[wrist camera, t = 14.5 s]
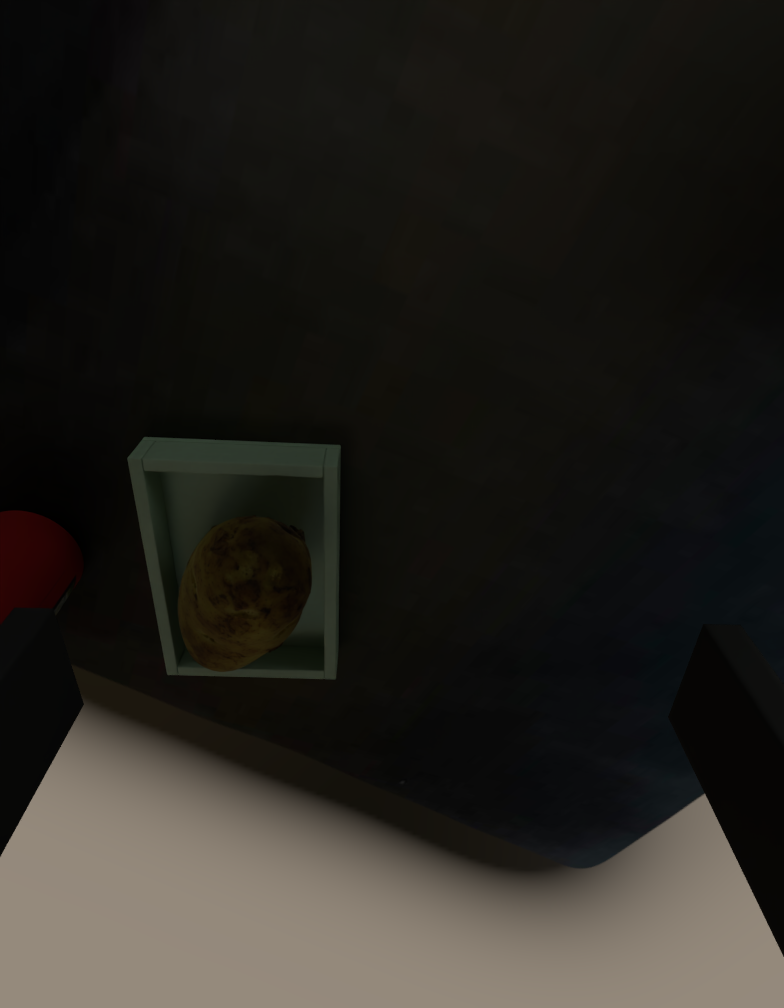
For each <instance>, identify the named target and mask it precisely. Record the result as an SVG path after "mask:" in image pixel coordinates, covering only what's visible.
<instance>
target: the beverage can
mask: <svg viewBox="0 0 784 1008" xmlns="http://www.w3.org/2000/svg"><path fill="white" fill-rule="evenodd" d="M83 568H84V560H83V555H82V552H81V550H80V548H79V546H78V544H77V542H76V541H75V540H74V538H73V537H72V536H71V535H70V534H69V533H68V532H67V531H66V530H65V529H64V528H63V527H61V526H60V525H58V524H57V523H55V522H54V521H52V520H50V519H48V518H46V517H44V516H41V515H38V514H35V513H31V512H26V511H14V510H13V511H4V512H0V625H1V623H2V622H3V621H4V620H5V618H6V617H7V616H8V615H9V614H10V612H11V611H12V610H13V609H14V607H18V608H53V609H54V613H55V616H56V615H57V613H58V612H59V610H60V609H61V607H62V606H63V604H64V603H65V601H66V600H67V598H68V597H69V595H70V594H71V592H72V591H73V589H74V588H75V586H76V585H77V583H78V581H79V580H80V578H81V576H82V573H83Z"/></svg>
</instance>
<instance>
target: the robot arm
mask: <svg viewBox="0 0 784 1008" xmlns="http://www.w3.org/2000/svg"><path fill="white" fill-rule="evenodd" d="M83 705H84V703H83V700H82V698H81V694H80V691H79V688H78V685H77V682H76V679H75V675H74V672H73V669H72V666H71V663H70V660H69V656H68V653H67V650H66V647H65V644H64V641H63V638H62V634H61V631H60V628H59V625H58V622H57V619H56V616H55V613H54V609H53V608H18V607H14V609H13V610H12V611H11V612H10V614H9V615H8V616H7V617H6V618H5V620H4V621H3V622H2V623H1V625H0V856H1V854H2V852H3V851H4V849H5V847H6V845H7V843H8V842H9V839H10V838H11V836H12V834H13V832H14V831H15V829H16V827H17V825H18V823H19V821H20V820H21V818H22V816H23V814H24V812H25V811H26V809H27V807H28V805H29V803H30V801H31V799H32V798H33V796H34V794H35V792H36V790H37V788H38V787H39V785H40V783H41V781H42V779H43V778H44V776H45V774H46V772H47V770H48V768H49V767H50V765H51V763H52V761H53V760H54V758H55V756H56V754H57V752H58V750H59V749H60V747H61V745H62V743H63V741H64V739H65V738H66V736H67V734H68V732H69V730H70V729H71V727H72V725H73V723H74V721H75V719H76V718H77V716H78V714H79V712H80V710H81V708H82V707H83ZM668 718H669V720H670V722H671V724H672V726H673V728H674V730H675V732H676V734H677V736H678V738H679V741H680V743H681V745H682V747H683V749H684V751H685V753H686V755H687V757H688V759H689V761H690V763H691V765H692V768H693V770H694V772H695V774H696V776H697V778H698V780H699V782H700V784H701V786H702V788H703V790H704V792H705V794H706V797H707V798H708V800H709V803H710V805H711V807H712V809H713V811H714V813H715V815H716V817H717V819H718V821H719V824H720V825H721V828H722V830H723V832H724V834H725V836H726V838H727V840H728V842H729V844H730V846H731V848H732V850H733V853H734V855H735V857H736V859H737V861H738V863H739V865H740V867H741V869H742V871H743V873H744V875H745V877H746V880H747V881H748V884H749V886H750V888H751V890H752V892H753V894H754V896H755V898H756V900H757V902H758V904H759V906H760V909H761V910H762V913H763V915H764V917H765V919H766V921H767V923H768V925H769V927H770V929H771V931H772V933H773V936H774V938H775V940H776V942H777V944H778V946H779V948H780V950H781V952H782V954H783V956H784V684H783V683H782V681H781V680H780V679H779V677H778V676H777V675H776V673H775V672H774V670H773V669H772V668H771V666H770V665H769V664H768V662H767V661H766V659H765V658H764V657H763V655H762V654H761V653H760V651H759V650H758V648H757V647H756V646H755V644H754V643H753V641H752V640H751V639H750V637H749V636H748V635H747V633H746V632H745V630H744V629H743V628H742V626H741V625H712V624H703V627H702V629H701V632H700V635H699V637H698V640H697V643H696V645H695V648H694V651H693V653H692V656H691V658H690V661H689V664H688V666H687V669H686V672H685V674H684V677H683V680H682V682H681V685H680V687H679V690H678V693H677V695H676V698H675V701H674V703H673V706H672V709H671V711H670V714H669V716H668Z"/></svg>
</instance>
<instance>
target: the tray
mask: <svg viewBox="0 0 784 1008" xmlns="http://www.w3.org/2000/svg"><path fill="white" fill-rule="evenodd" d="M127 460H128V465H129V471H130V476H131V481H132V487H133V492H134V498H135V503H136V508H137V514H138V519H139V525H140V530H141V536H142V541H143V546H144V552H145V557H146V563H147V568H148V573H149V579H150V584H151V590H152V595H153V600H154V606H155V611H156V617H157V622H158V628H159V633H160V638H161V644H162V649H163V655H164V660H165V665H166V671H167V675H178V674H179V675H195V676H233V677H270V678H308V679H324V678H325V679H336V673H337V661H338V644H339V553H340V462H341V446H340V445H327V444H303V443H279V442H255V441H231V440H207V439H183V438H159V437H144V438H143V439H142V441H141V442H140V443H139V445H138V446H137V447H136V448H135V449H134V451H133V452H132V453H131V454H130V456H129V457H128V458H127ZM252 515H256V516H257V517H269V518H272V519H274V520H276V521H279V522H282V523H284V524H286V525H287V526H290V525H293V526H295V527H296V528H297V529H298V530H300V529H302V530H303V531H304V535H305V543H306V545H307V547H308V549H309V553H310V557H311V565H312V587H311V593H310V595H309V598H308V600H307V602H306V605H305V607H304V608H303V611H302V614H301V617H300V620H299V622H298V623H297V625H296V627H295V629H294V630H293V631H292V633H291V634H290V636H289V637H288V638H287V639H286V640H285V641H284V643H283V644H282V645H281V646H280V647H278V649H275V650H273V651H271V652H270V653H269V652H267V653H266V654H264V655H263V656H261V657H260V658H258V659H257V660H255V661H253V662H252V663H250V664H248V665H246V666H244V667H242V668H239V669H237V670H234V671H227V672H217V671H213V670H210V669H207V668H205V667H203V666H201V665H200V664H198V663H197V662H196V661H195V660H194V659H193V658H192V656H191V655H190V653H189V652H188V650H187V648H186V646H185V643H184V640H183V637H182V634H181V630H180V626H179V619H178V597H179V588H180V585H181V579H182V576H183V574H184V571H185V569H186V566H187V563H188V561H189V558H190V556H191V555H192V553H193V551H194V549H195V548H196V546H197V545H198V543H199V542H200V541H201V540H202V538H203V537H204V536H205V535H206V534H207V533H208V532H209V531H210V530H211V527H213V526H215V525H218V524H220V523H222V522H225V521H227V520H230V519H233V518H236V517H242V516H252Z"/></svg>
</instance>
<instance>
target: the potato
mask: <svg viewBox="0 0 784 1008" xmlns="http://www.w3.org/2000/svg"><path fill="white" fill-rule="evenodd" d="M311 587H312V565H311V557H310V553H309V549H308V547H307V545H306V543H305V535H304V531H303V530H302V529H300V530H298V529H297V528H296V527H295V526H293V525H290V526H287V525H286V524H284V523H282V522H279V521H276V520H274V519H272V518H269V517H257V516H256V515H252V516H242V517H236V518H233V519H230V520H227V521H225V522H222V523H220V524H218V525H215V526H213V527H211V530H210V531H209V532H208V533H207V534H206V535H205V536H204V537H203V538H202V540H201V541H200V542H199V543H198V545H197V546H196V548H195V549H194V551H193V553H192V555H191V556H190V558H189V561H188V563H187V566H186V569H185V571H184V574H183V576H182V579H181V585H180V588H179V597H178V619H179V626H180V630H181V634H182V637H183V640H184V643H185V646H186V648H187V650H188V652H189V653H190V655H191V656H192V658H193V659H194V660H195V661H196V662H197V663H198V664H200V665H201V666H203V667H205V668H207V669H210V670H213V671H217V672H227V671H234V670H237V669H239V668H242V667H244V666H246V665H248V664H250V663H252V662H253V661H255V660H257V659H258V658H260V657H261V656H263V655H264V654H266V653H267V652H269V653H270V652H271V651H273V650H275V649H278V647H280V646H281V645H282V644H283V643H284V641H285V640H286V639H287V638H288V637H289V636H290V634H291V633H292V631H293V630H294V629H295V627H296V625H297V623H298V622H299V620H300V617H301V614H302V611H303V608H304V607H305V605H306V602H307V600H308V598H309V595H310V593H311Z"/></svg>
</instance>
